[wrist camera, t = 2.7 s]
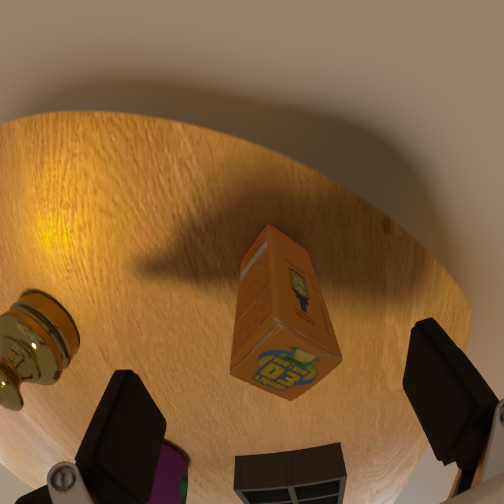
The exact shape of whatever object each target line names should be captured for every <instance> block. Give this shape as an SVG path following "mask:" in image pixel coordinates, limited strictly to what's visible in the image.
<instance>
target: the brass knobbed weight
mask: <svg viewBox="0 0 504 504" xmlns="http://www.w3.org/2000/svg"><path fill="white" fill-rule="evenodd" d="M78 345H79V342H78V336H77V332H76V329H75V327H74V325H73V323H72V321H71V320H70V318H69V317H68V315H67V314H66V313H65V312H64V310H63V309H62V308H61V307H60V306H59V305H58V304H57V303H55V302H54V301H53V300H51V299H50V298H48V297H47V296H45V295H42V294H39V293H28V294H25V295H24V296H23V297H22V298H21V299H20V300H18V301H17V302H16V303H14V304H13V305H12V306H11V307H10V310H9V311H7V312H5V313H3V314H2V315H1V316H0V405H1V406H3V407H5V408H7V409H10V410H13V411H20V410H21V409H22V408H23V406H24V401H23V398H22V395H21V392H20V385H21V383H23V382H28V383H36V384H39V385H53V384H55V383H56V382H57V381H58V380H59V379H60V377H61V375H62V372H63V369H65V368H67V367H68V365H69V364H70V361H71V359H72V358H73V357H74V355H75V354H76V352H77V350H78Z"/></svg>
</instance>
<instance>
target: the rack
mask: <svg viewBox="0 0 504 504" xmlns="http://www.w3.org/2000/svg"><path fill="white" fill-rule="evenodd" d="M346 479H347V473H346V468H345V463H344V459H343V454H342V450H341V445H340V443H336V444H331V445H326V446H321V447H316V448H310V449H304V450H297V451H290V452H283V453H274V454H264V455H253V456H237V457H235V472H234V491H235V492H236V494H237V495H238V496H239V498H240V499H241V500H242V501H243V503H244V504H342V503H343V497H344V492H345V486H346Z"/></svg>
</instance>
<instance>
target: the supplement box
mask: <svg viewBox="0 0 504 504" xmlns="http://www.w3.org/2000/svg"><path fill="white" fill-rule="evenodd" d="M341 362H342V355H341V352H340V349H339V346H338V342H337V339H336V336H335V333H334V329H333V326H332V323H331V320H330V317H329V314H328V311H327V307H326V304H325V301H324V298H323V295H322V292H321V289H320V286H319V283H318V280H317V277H316V274H315V271H314V268H313V265H312V263H311V260H310V257H309V254H308V251H307V250H306V249H305V248H303V247H302V246H301V245H299V244H298V243H296V242H295V241H294V240H292V239H291V238H290V237H288V236H287V235H285V234H284V233H282V232H281V231H279V230H278V229H277V228H275V227H274V226H272V225H270V224H267V226H266V227H265V228H264V229H263V231H262V232H261V233H260V235H259V236H258V238H257V239H256V240H255V242H254V243H253V245H252V246H251V247H250V249H249V250H248V252H247V253H246V254H245V256H244V257H243V259H242V261H241V269H240V277H239V285H238V296H237V306H236V316H235V324H234V334H233V344H232V353H231V363H230V372H229V373H230V375H232V376H234V377H236V378H239V379H241V380H243V381H245V382H247V383H249V384H252V385H254V386H256V387H258V388H261V389H263V390H265V391H268V392H270V393H272V394H275V395H277V396H280V397H282V398H284V399H287V400H289V401H292V400H294V399H296V398H297V397H299V396H300V395H302V394H303V393H305V392H306V391H307V390H309V389H310V388H311V387H313V386H314V385H315V384H316V383H318V382H319V381H320V380H321V379H323V378H324V377H325V376H326V375H327V374H329V373H330V372H331V371H332V370H333V369H334V368H335V367H337V366H338V365H339V364H340V363H341Z"/></svg>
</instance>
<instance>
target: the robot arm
mask: <svg viewBox="0 0 504 504" xmlns="http://www.w3.org/2000/svg"><path fill="white" fill-rule="evenodd" d="M403 388H404V391H405V393H406V395H407V397H408V399H409V401H410V403H411V405H412V407H413V409H414V411H415V413H416V415H417V417H418V419H419V421H420V423H421V426H422V428H423V430H424V432H425V434H426V436H427V438H428V441H429V443H430V445H431V447H432V449H433V452H434V454H435V456H436V458H437V460H438V461H442V462H443V464H444V466H446V465H448V464H450V463H452V462H454V461H455V462H456V463H457V466H458V468H459V470H458V473H457V475H456V478H455V481H454V484H453V486H452V489H451V491H450V494H449V496H448V499H447V500H446V501H444V502H442V503H440V504H504V399H502V400H501V401H499V400H498V398H497V397H496V395H495V394H494V393H493V391H492V390H491V388H490V387H489V386H488V384H487V383H486V381H485V380H484V379H483V377H482V376H481V375H480V373H479V372H478V371H477V369H476V368H475V367H474V365H473V364H472V363H471V362H470V360H469V359H468V358H467V356H466V355H465V354H464V353H463V351H462V350H461V349H460V348H458V347H457V346H456V345H455V343H454V342H453V341H452V340H451V338H450V337H449V336H448V335H447V334H446V332H445V331H444V330H443V329H442V328H441V326H440V325H439V324H438V323H437V322H436V320H435V319H434V318H427V319H424V320H421V321H418V322H416V324H415V327H413V328H412V329H411V335H410V342H409V349H408V355H407V361H406V366H405V372H404V377H403ZM165 431H166V420H165V418H164V416H163V415H162V413H161V412H160V410H159V409H158V407H157V405H156V404H155V402H154V401H153V399H152V397H151V396H150V394H149V392H148V391H147V389H146V387H145V386H144V384H143V382H142V381H141V379H140V377H139V376H138V374H136V373H134V372H133V371H132V370H116V371H115V372H114V373H113V375H112V377H111V379H110V381H109V383H108V386H107V388H106V390H105V392H104V394H103V396H102V398H101V400H100V402H99V405H98V407H97V409H96V411H95V413H94V415H93V418H92V420H91V422H90V424H89V427H88V429H87V431H86V433H85V436H84V438H83V440H82V443H81V445H80V447H79V450H78V452H77V455H76V457H75V460H76V463H75V465H74V464H73V463H71V462H68V461H63V462H59V463H57V464H55V465H54V466H53V467H52V468H51V469H50V471H49V473H48V475H47V485H45V486H43V487H41V488H38V489H36V490H34V491H32V492H30V493H28V494H26V495H24V496H22V497H20V498H19V499H18V500H17V501H16V502H15V504H146V502H148V501H149V500H150V498H151V494H152V489H153V484H154V479H155V475H156V470H157V466H158V461H159V457H160V453H161V448H162V444H163V440H164V435H165Z"/></svg>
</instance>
